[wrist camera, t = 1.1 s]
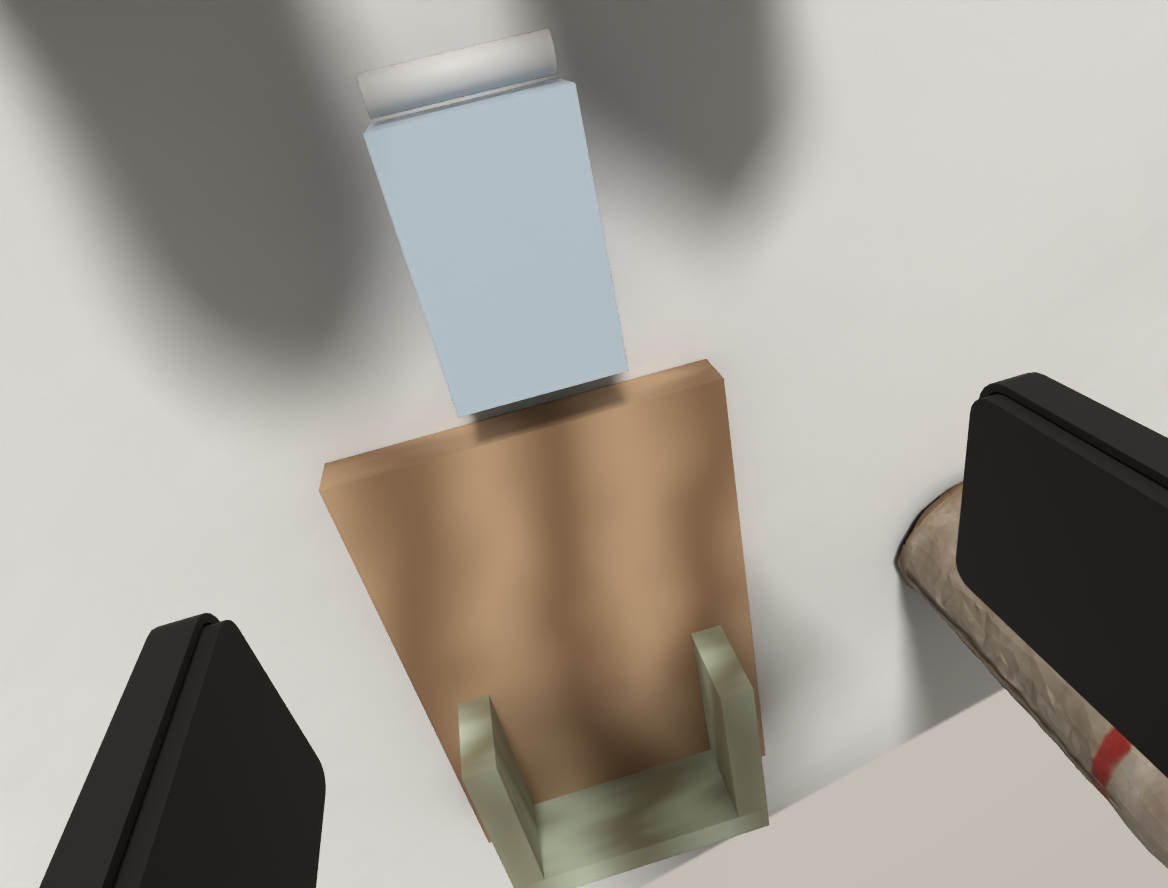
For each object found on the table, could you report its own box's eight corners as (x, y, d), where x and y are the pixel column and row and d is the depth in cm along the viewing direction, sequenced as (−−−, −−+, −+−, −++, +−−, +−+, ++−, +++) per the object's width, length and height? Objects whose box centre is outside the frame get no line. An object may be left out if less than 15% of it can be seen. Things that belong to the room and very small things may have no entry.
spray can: (1073, 499, 38) (1603, 873, 21) (966, 611, 41) (1359, 1022, 24) (973, 440, 35) (1509, 829, 18) (865, 566, 37) (1238, 1008, 20)
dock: (706, 359, 30) (766, 425, 25) (751, 726, 42) (797, 821, 37) (324, 463, 29) (304, 556, 23) (486, 809, 41) (495, 919, 36)
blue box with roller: (542, 27, 23) (564, 25, 19) (602, 328, 28) (629, 370, 25) (356, 71, 22) (344, 78, 19) (453, 368, 28) (458, 417, 24)
